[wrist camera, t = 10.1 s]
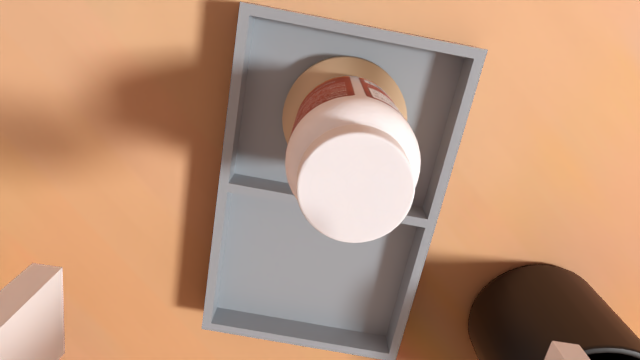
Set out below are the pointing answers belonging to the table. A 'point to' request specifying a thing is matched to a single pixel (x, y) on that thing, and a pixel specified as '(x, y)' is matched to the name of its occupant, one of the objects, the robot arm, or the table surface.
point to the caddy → (283, 208)
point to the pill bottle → (352, 160)
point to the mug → (546, 317)
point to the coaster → (331, 70)
